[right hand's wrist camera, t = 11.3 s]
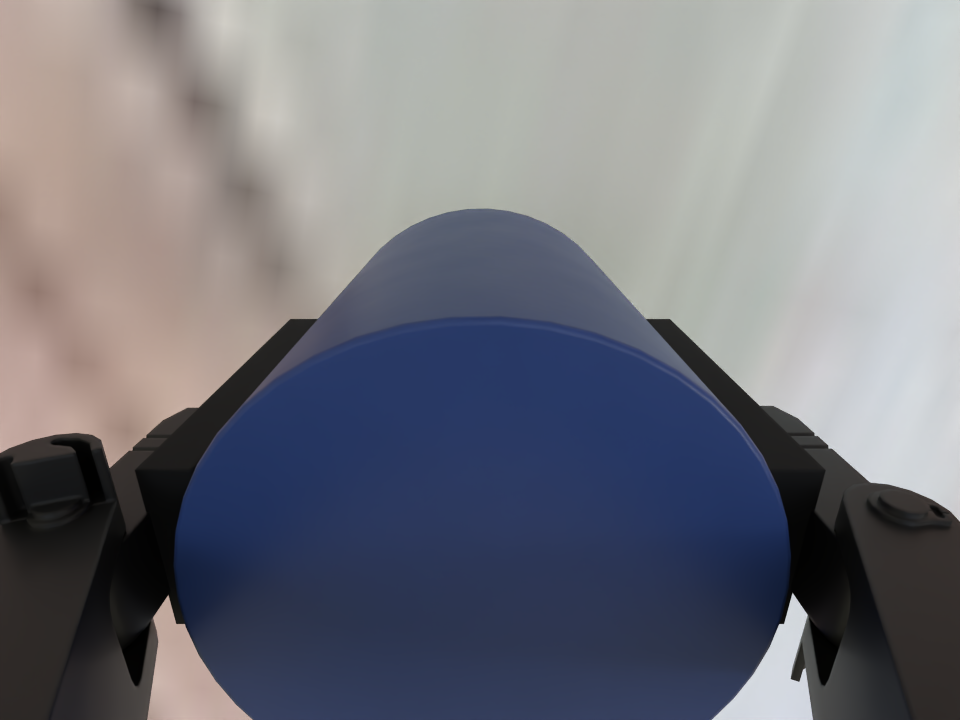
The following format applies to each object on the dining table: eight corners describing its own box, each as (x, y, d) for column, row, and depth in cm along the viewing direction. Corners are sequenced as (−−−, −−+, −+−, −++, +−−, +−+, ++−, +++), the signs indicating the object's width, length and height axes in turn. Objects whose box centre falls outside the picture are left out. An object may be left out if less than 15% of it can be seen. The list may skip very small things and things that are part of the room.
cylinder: (335, 201, 14) (112, 300, 5) (639, 215, 14) (879, 335, 6) (348, 463, 17) (214, 794, 8) (600, 473, 17) (720, 809, 8)
